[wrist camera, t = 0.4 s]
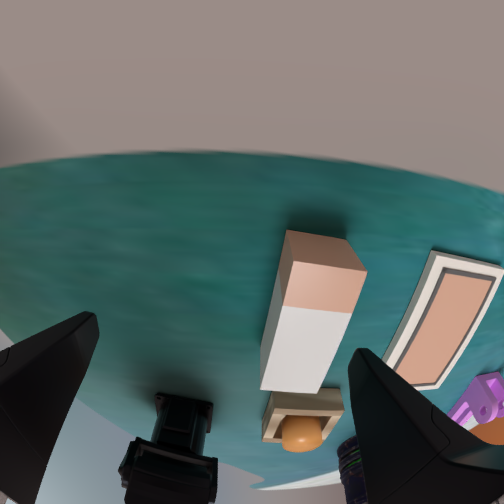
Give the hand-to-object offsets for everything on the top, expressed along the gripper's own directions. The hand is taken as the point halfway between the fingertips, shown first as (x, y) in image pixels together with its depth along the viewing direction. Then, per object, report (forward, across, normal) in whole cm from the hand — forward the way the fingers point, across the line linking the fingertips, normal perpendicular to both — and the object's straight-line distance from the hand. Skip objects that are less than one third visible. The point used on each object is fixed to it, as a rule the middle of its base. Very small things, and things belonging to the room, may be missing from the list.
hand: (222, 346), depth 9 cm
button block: (+13, -8, +20) cm, 25 cm away
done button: (+11, -8, +20) cm, 24 cm away
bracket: (+13, -36, +22) cm, 44 cm away
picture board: (+13, -20, +8) cm, 25 cm away
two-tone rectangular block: (+13, -5, +5) cm, 15 cm away
